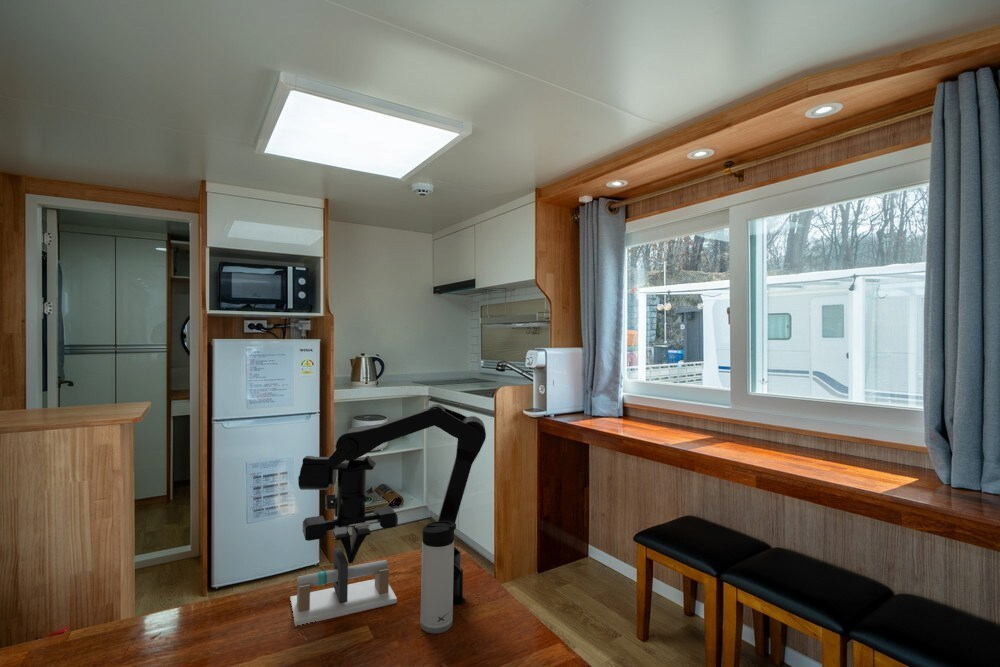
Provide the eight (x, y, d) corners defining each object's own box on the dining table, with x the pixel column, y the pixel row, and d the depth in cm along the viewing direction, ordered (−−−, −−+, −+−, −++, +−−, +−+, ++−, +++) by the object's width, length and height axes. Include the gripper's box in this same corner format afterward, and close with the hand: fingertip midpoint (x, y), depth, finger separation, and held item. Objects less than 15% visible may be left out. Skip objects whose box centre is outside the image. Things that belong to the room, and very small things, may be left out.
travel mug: (448, 636, 97) (450, 531, 97) (415, 631, 98) (417, 528, 98) (457, 618, 103) (460, 519, 103) (426, 613, 105) (428, 516, 104)
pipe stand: (384, 581, 117) (385, 549, 117) (396, 602, 108) (397, 568, 108) (290, 601, 108) (290, 566, 108) (295, 626, 99) (295, 589, 99)
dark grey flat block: (340, 583, 112) (340, 547, 112) (347, 602, 105) (348, 563, 104) (333, 585, 111) (333, 548, 111) (339, 603, 104) (340, 564, 104)
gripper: (385, 474, 120) (384, 540, 120) (300, 483, 111) (299, 554, 112) (399, 488, 110) (397, 560, 110) (306, 499, 101) (305, 578, 102)
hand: (350, 562), depth 109 cm, fingers closed
